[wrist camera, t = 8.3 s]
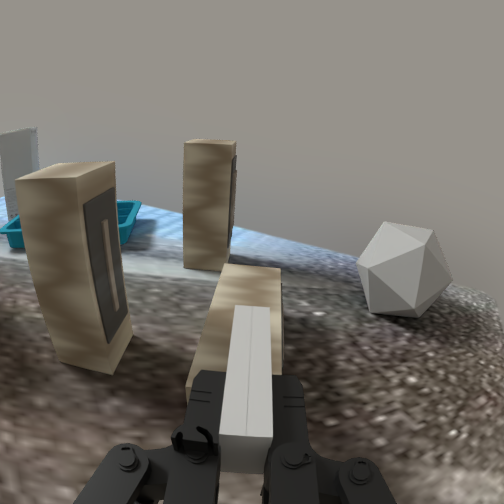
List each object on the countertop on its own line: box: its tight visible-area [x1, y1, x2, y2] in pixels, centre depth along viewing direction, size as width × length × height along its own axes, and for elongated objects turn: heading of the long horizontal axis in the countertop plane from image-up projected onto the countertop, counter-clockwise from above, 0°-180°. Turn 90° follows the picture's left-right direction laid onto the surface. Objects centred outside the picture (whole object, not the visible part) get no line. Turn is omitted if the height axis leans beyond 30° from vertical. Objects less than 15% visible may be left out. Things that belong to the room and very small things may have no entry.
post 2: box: [183, 139, 237, 271], centre depth 32 cm, size 5×4×13 cm
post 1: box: [15, 161, 133, 375], centre depth 18 cm, size 5×4×13 cm
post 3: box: [185, 263, 284, 405], centre depth 20 cm, size 5×4×13 cm
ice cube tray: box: [0, 201, 141, 248], centre depth 39 cm, size 12×20×3 cm, turn 101°
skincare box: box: [0, 127, 40, 222], centre depth 43 cm, size 8×7×16 cm
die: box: [356, 221, 453, 318], centre depth 27 cm, size 8×9×10 cm
